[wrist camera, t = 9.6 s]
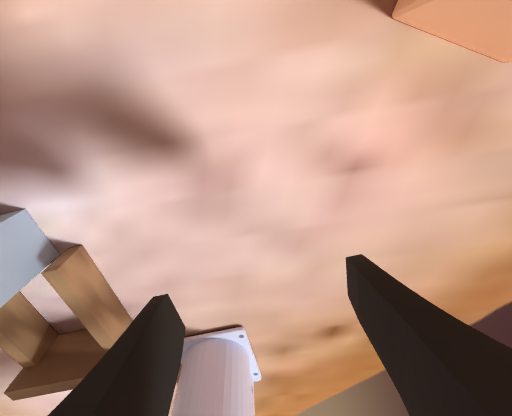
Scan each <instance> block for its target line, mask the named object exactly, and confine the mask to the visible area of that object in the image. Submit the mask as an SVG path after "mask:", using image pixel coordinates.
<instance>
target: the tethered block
mask: <svg viewBox="0 0 512 416" xmlns="http://www.w3.org/2000/svg"><path fill="white" fill-rule="evenodd" d="M58 255H59V253H58V252H57V251H56V249H55V248H54V246H53V245H52V244H51V242H50V241H49V240H48V238H47V237H46V236H45V234H44V233H43V232H42V230H41V229H40V228H39V226H38V225H37V224H36V222H35V221H34V219H33V218H32V217H31V215H30V214H29V213H28V211H27V210H26V209H23V210H18V211H14V212H10V213H5V214H1V215H0V308H1V307H2V306H3V305H4V304H5V303H6V302H8V301H9V300H10V299H11V298H12V297H13V296H14V295H15V294H16V293H17V292H19V291H20V290H21V289H22V288H23V287H24V286H25V285H26V284H27V283H29V282H30V281H31V280H32V279H33V278H34V277H35V276H36V275H37V274H38V273H40V272H41V271H42V270H43V269H44V268H45V267H46V266H47V265H48V264H50V263H51V262H52V261H53V260H54V259H55V258H56V257H57V256H58Z"/></svg>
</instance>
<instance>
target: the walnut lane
mask: <svg viewBox="0 0 512 416" xmlns="http://www.w3.org/2000/svg"><path fill="white" fill-rule="evenodd" d="M41 274H42V275H43V276H44V277H45V278H46V280H47V281H48V282H49V283H50V285H51V286H52V287H53V288H54V289H55V291H56V292H57V293H58V294H59V296H60V297H61V298H62V299H63V300H64V302H65V303H66V304H67V305H68V307H69V308H70V309H71V310H72V311H73V313H74V314H75V315H76V316H77V318H78V319H79V320H80V321H81V323H82V324H83V325H84V326H85V327H86V329H85V330H80V331H75V332H70V333H65V334H60V335H59V334H58V333H57V332H56V331H55V330H54V329H53V328H52V327H51V326H50V324H49V323H48V322H47V321H46V320H45V319H44V318H43V317H42V316H41V315H40V313H39V312H38V311H37V310H36V309H35V308H34V307H33V306H32V305H31V304H30V303H29V301H28V300H27V299H26V298H25V297H24V296H23V295H22V294H21V293H20V292H17V293H16V294H15V295H14V296H13V297H12V298H11V299H10V300H9V301H8V302H6V303H5V304H4V305H3V306H2V307H1V308H0V347H1V348H2V349H3V350H4V351H5V352H6V353H7V354H9V355H10V356H11V357H12V358H13V359H14V360H15V361H16V362H18V363H19V364H20V365H21V366H22V367H23V369H22V370H21V372H20V373H19V374H18V375H17V377H16V378H15V379H14V380H13V382H12V383H11V384H10V386H9V387H8V388H7V389H6V391H5V392H4V394H5V395H7V396H8V397H9V398H11V399H12V400H19V399H24V398H29V397H35V396H40V395H45V394H50V393H56V392H61V391H66V390H72V389H74V388H75V387H76V386H77V385H78V384H79V383H80V382H81V381H82V380H83V379H84V377H85V376H86V375H87V374H88V373H89V372H90V371H91V370H92V368H93V367H94V366H95V365H96V364H97V363H98V362H99V361H100V359H101V358H102V357H103V356H104V355H105V354H106V353H107V352H108V350H109V349H110V348H111V347H112V346H113V344H114V343H115V342H116V341H117V340H118V338H119V337H120V336H121V335H122V334H123V333H124V331H125V330H126V329H127V328H128V327H129V325H130V324H131V323H132V322H133V320H132V319H131V317H130V316H129V314H128V313H127V311H126V310H125V308H124V307H123V305H122V304H121V302H120V301H119V299H118V298H117V296H116V295H115V293H114V292H113V290H112V289H111V287H110V286H109V284H108V283H107V281H106V280H105V278H104V277H103V275H102V274H101V272H100V271H99V269H98V268H97V266H96V265H95V263H94V262H93V260H92V259H91V257H90V256H89V254H88V253H87V251H86V250H85V248H84V247H83V245H80V246H76V247H71V248H68V249H67V250H66V251H65V252H64V253H63V254H61V255H60V256H59V257H58V258H57V259H56V260H55V261H54V262H53V263H52V264H50V265H49V266H48V267H47V268H46V269H45V270H44V271H43V272H42V273H41Z"/></svg>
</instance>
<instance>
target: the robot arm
mask: <svg viewBox="0 0 512 416" xmlns="http://www.w3.org/2000/svg"><path fill="white" fill-rule="evenodd" d="M346 270H347V288H348V296H349V299H350V301H351V304H352V306H353V309H354V311H355V313H356V315H357V318H358V320H359V322H360V324H361V326H362V327H363V329H364V331H365V333H366V335H367V336H368V338H369V340H370V342H371V344H372V345H373V347H374V349H375V351H376V352H377V354H378V356H379V358H380V360H381V361H382V363H383V365H384V367H385V368H386V370H387V372H388V374H389V376H390V377H391V379H392V381H393V383H394V385H395V387H396V389H397V390H398V392H399V394H400V396H401V398H402V400H403V402H404V405H405V407H406V409H407V411H408V413H409V415H410V416H512V348H510V347H508V346H506V345H504V344H502V343H500V342H498V341H496V340H494V339H492V338H490V337H489V336H487V335H485V334H483V333H481V332H480V331H478V330H476V329H474V328H472V327H471V326H469V325H467V324H465V323H463V322H462V321H460V320H458V319H456V318H455V317H453V316H451V315H450V314H448V313H446V312H445V311H443V310H442V309H440V308H438V307H437V306H435V305H434V304H432V303H430V302H429V301H427V300H426V299H424V298H423V297H421V296H420V295H418V294H417V293H415V292H414V291H412V290H411V289H409V288H408V287H406V286H405V285H403V284H402V283H401V282H399V281H398V280H396V279H395V278H393V277H392V276H391V275H389V274H388V273H387V272H385V271H384V270H382V269H381V268H380V267H378V266H377V265H376V264H374V263H373V262H372V261H370V260H369V259H367V258H366V257H365V256H363V255H362V254H361V255H356V256H351V257H346ZM184 336H185V326H184V324H183V322H182V320H181V318H180V316H179V314H178V312H177V310H176V309H175V307H174V305H173V303H172V301H171V299H170V297H169V295H168V294H165V295H160V296H155V297H153V298H152V299H151V300H150V301H149V302H148V304H147V305H146V306H145V307H144V308H143V309H142V311H141V312H140V313H139V314H138V316H137V317H136V318H135V319H134V320H133V322H132V323H131V324H130V325H129V327H128V328H127V329H126V330H125V331H124V333H123V334H122V335H121V336H120V337H119V338H118V340H117V341H116V342H115V343H114V344H113V346H112V347H111V348H110V349H109V350H108V352H107V353H106V354H105V355H104V356H103V357H102V358H101V359H100V361H99V362H98V363H97V364H96V365H95V366H94V367H93V368H92V370H91V371H90V372H89V373H88V374H87V375H86V376H85V377H84V379H83V380H82V381H81V382H80V383H79V384H78V385H77V386H76V387H75V388H74V389H73V390H72V391H71V392H70V394H69V395H68V396H67V397H66V398H65V399H64V400H63V401H62V402H61V403H60V404H59V405H58V406H57V407H56V408H55V409H54V410H53V411H52V412H51V413H50V414H49V415H48V416H168V414H169V410H170V405H171V401H172V397H173V393H174V388H175V384H176V380H177V376H178V371H179V367H180V363H181V365H182V367H181V372H180V376H179V381H178V386H177V390H176V395H175V399H174V404H173V409H172V413H171V416H255V407H254V382H256V381H260V380H261V373H260V370H259V367H258V365H257V362H256V359H255V356H254V354H253V351H252V348H251V345H250V343H249V340H248V337H247V334H246V331H245V329H244V328H243V327H237V328H232V329H227V330H222V331H217V332H212V333H206V334H201V335H196V336H191V337H186V338H184Z"/></svg>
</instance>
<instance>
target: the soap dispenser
mask: <svg viewBox="0 0 512 416" xmlns="http://www.w3.org/2000/svg"><path fill="white" fill-rule="evenodd" d="M392 17H393V19H395V20H398V21H400V22H403V23H405V24H408V25H410V26H413V27H415V28H418V29H420V30H423V31H425V32H428V33H430V34H433V35H436V36H438V37H441V38H443V39H446V40H448V41H451V42H453V43H456V44H458V45H461V46H463V47H466V48H468V49H471V50H473V51H476V52H478V53H481V54H483V55H486V56H488V57H491V58H493V59H496V60H498V61H501V62H503V63H509V62H512V0H398V1H397V4H396V6H395V8H394V11H393V13H392Z"/></svg>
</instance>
